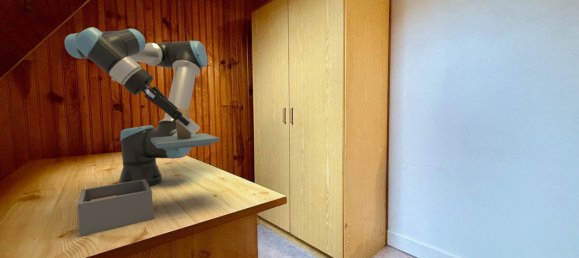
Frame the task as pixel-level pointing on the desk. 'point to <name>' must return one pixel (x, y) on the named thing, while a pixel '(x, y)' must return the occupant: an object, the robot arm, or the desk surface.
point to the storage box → (114, 206)
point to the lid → (183, 137)
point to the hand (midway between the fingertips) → (196, 130)
